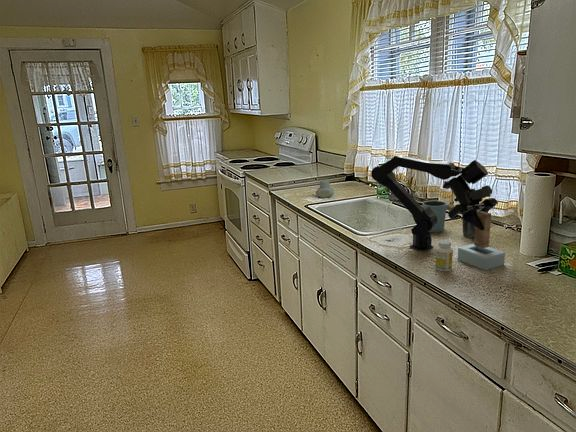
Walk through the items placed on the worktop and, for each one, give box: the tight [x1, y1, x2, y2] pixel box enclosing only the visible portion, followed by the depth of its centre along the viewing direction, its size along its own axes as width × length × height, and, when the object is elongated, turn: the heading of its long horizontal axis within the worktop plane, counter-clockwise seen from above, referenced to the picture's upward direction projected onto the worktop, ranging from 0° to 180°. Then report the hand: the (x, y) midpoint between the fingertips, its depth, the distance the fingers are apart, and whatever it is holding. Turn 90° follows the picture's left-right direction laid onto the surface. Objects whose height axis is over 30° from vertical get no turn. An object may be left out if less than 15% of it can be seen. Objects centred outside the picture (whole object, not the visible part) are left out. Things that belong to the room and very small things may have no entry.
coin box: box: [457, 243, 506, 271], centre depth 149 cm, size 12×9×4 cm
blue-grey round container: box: [422, 199, 448, 233], centre depth 187 cm, size 10×10×12 cm
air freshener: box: [315, 179, 335, 199], centre depth 260 cm, size 11×8×10 cm
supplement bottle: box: [434, 239, 454, 272], centre depth 145 cm, size 5×5×10 cm
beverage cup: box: [461, 187, 476, 238], centre depth 175 cm, size 7×7×20 cm
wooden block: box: [473, 211, 493, 248], centre depth 147 cm, size 4×2×12 cm, turn 26°
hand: (486, 228), depth 145 cm, fingers closed on wooden block, 2 cm apart
